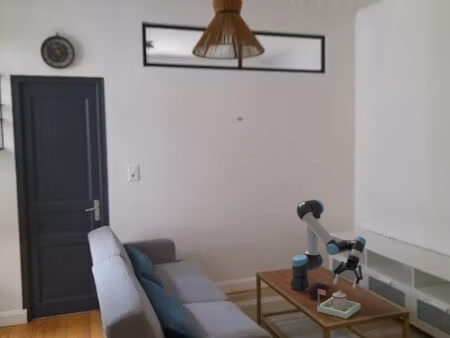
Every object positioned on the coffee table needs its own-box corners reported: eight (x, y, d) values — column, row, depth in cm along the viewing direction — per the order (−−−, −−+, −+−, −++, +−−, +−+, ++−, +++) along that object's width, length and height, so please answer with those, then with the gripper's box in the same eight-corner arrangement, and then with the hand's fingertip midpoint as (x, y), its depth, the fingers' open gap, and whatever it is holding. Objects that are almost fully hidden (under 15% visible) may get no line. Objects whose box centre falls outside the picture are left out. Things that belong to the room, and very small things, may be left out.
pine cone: (326, 293, 314) (325, 279, 314) (332, 297, 305) (331, 283, 304) (302, 295, 311) (302, 281, 310) (308, 300, 301) (307, 286, 301)
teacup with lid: (342, 305, 289) (342, 287, 289) (349, 310, 280) (349, 292, 280) (326, 307, 286) (325, 290, 286) (332, 312, 277) (332, 294, 277)
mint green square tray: (317, 311, 282) (316, 289, 281) (332, 302, 297) (331, 281, 296) (346, 318, 269) (345, 295, 268) (360, 308, 284) (359, 286, 283)
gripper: (373, 264, 289) (363, 292, 279) (339, 257, 306) (328, 284, 296) (370, 258, 285) (360, 287, 275) (335, 251, 302) (324, 278, 292)
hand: (343, 285), depth 286 cm, fingers open, 13 cm apart
